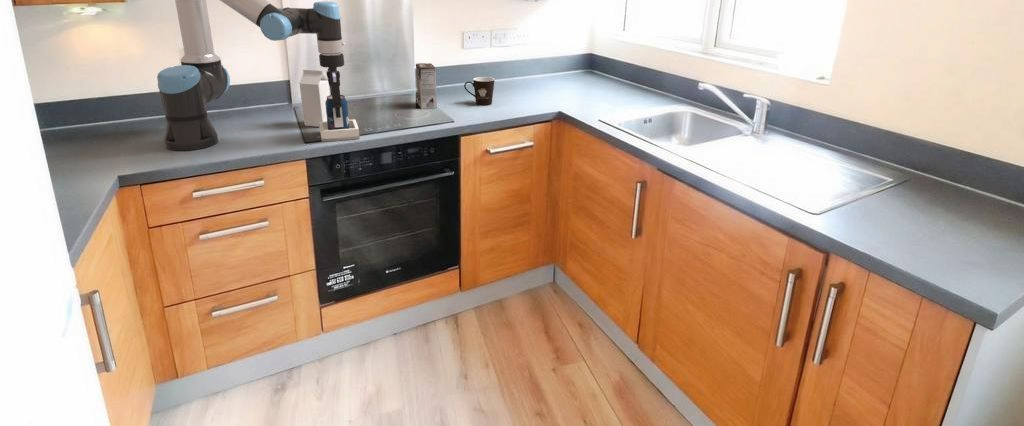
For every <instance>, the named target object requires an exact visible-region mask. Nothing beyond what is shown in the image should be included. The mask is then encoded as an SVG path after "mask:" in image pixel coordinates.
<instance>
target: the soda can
mask: <svg viewBox="0 0 1024 426" xmlns="http://www.w3.org/2000/svg"><path fill="white" fill-rule="evenodd" d="M340 97H341V104H342V117H343V127H335V124H334V114H333V108H331V106H333V100H332V95H331V94H330V96H327V100H326V102H325V104H326V114H327V124H328V130H338V129H349V120H350V119H349V117H350V116H349V107H348V101H347V99H346V97H345V95H342V94H340Z"/></svg>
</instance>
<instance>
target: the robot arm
mask: <svg viewBox="0 0 1024 426" xmlns="http://www.w3.org/2000/svg"><path fill="white" fill-rule="evenodd" d="M174 1H175V7H176V13H177V19H178V24H179V29H180V35H181V40H182V45H183V46H182V47H183V52H184V54H183V56H182V57H181V58H180V65H175V66H169V67H166V68H163V69H162V70H160V71H159V72H158V73H157V75H156V79H157V87H158V90H159V95H160V98H161V99H160V100H161V103H162V107H163V112H164V116H165V122H166V124H165V131H164V138H163V141H164V146H165V148H166V149H168V150H172V151H195V150H201V149H205V148H209V147H212V146H214V145H216V144H217V143H219V136H218V133H217V131H216V129H215V127H214V125H213V124H212V122H211V121H210V118H209V116H208V111H207V105H206V104H208V103H210V102H211V101H214V100H216V99H220V98H221V97H223V95H224V94H226V93H227V91H228V90H229V88H230V84H231V80H230V79H231V78H230V74H229V72H228V69H227V68H225V67H224V65H223V64H222V60H221V57H220V56H218V55H217V54H216V53H215V48H214V42H213V37H212V29H211V25H210V23H211V22H210V17H209V12H208V5H207V0H174ZM219 1H220V2H222V3H223V4H224V5H226V6H228V7H229V8H230V9H232V10H233V11H234V12H236V13H238V14H239V15H241V16H242V17H244V18H245V19H247V20H248V21H250V22H251V23H252V24H254V25H255V26H257V27H258V28H259V29H260V31H261V33H262V34H263V36H264V37H265V38H266V39H268V40H270V41H275V42H277V41H283V40H286V39H288V38H291V37H293V36H296V35H300V34H302V35H303V34H311V35H313V34H316V43H317V50H318V53H319V55H318V59H319V60H318V61H319V66H320V67H321V68H327V71H326V78H327V79H328V83H329V92H330V95H332V100H333V106H331V108H333V114H334V124H335V127H343V117H342V104H341V97H340V95H341V89H340V86H341V80H340V79H341V74H340V71H339V70H338V69H337V68H341V67H343V66H345V59H344V57H345V56H344V54H343V52H344V48H343V46H345V42H344V41H343V37H342V36H343V35H342V24H341V15H340V9H339V5H338V3H337V2H335V1H315V2H313V7H311V8H302V7H301V8H300V7H299V8H298V7H297V8H296V7H288V6H287V7H279V8H277V7H276V5H275V6H274V5H273V4H272V3H270V2H268V1H267V0H219Z"/></svg>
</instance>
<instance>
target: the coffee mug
mask: <svg viewBox="0 0 1024 426" xmlns="http://www.w3.org/2000/svg"><path fill="white" fill-rule="evenodd" d="M472 81H473V82H472ZM472 81H466V82H465V83H464V85H463V86H464V90H465V91H466V92H467V93H468V94H470V95H471V96H473V97H474V98H475V104H476V106H481V107H483V106H484V107H486V106H492V104H493V96H494V90H495V89H494V88H495V78H494V77H490V76H478V77H474V78H472ZM467 84H471V85H472V88H473V89H474V93H472V92H471V91H469V90H468V89H467V87H466V85H467Z"/></svg>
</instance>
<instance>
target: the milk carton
mask: <svg viewBox="0 0 1024 426" xmlns="http://www.w3.org/2000/svg"><path fill="white" fill-rule="evenodd" d="M302 72H303V73H302V75H301V78H300V81H299V84H298V85H299V89H300V97H301V98H300V99H301V105H302V106H301V107H302V113H303V122H304V126H306V127H315V128H316V127H318V128H320V126H319V122H324V121H327V114H326V104H325V102H326V100H327V96H330V95H331V93H330V86H329V83H328V78H327V76H325V75H324V73H323V72H324V71H323V70H316V69H302Z"/></svg>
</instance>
